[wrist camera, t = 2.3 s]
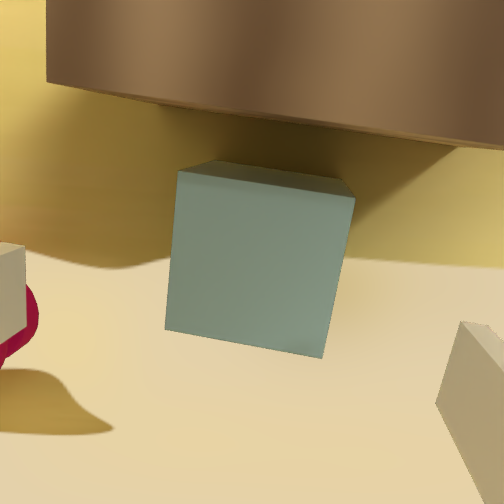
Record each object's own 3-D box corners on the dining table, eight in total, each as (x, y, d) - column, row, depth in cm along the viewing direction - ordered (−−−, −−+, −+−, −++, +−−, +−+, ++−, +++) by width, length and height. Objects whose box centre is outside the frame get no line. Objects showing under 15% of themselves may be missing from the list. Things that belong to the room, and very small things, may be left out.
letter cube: (343, 179, 23) (358, 198, 16) (319, 297, 25) (324, 359, 18) (215, 160, 23) (178, 170, 16) (202, 277, 25) (164, 329, 18)
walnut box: (494, 15, 20) (673, -98, 10) (458, 146, 21) (582, 156, 12) (164, -22, 21) (44, -154, 11) (156, 104, 23) (46, 82, 13)
